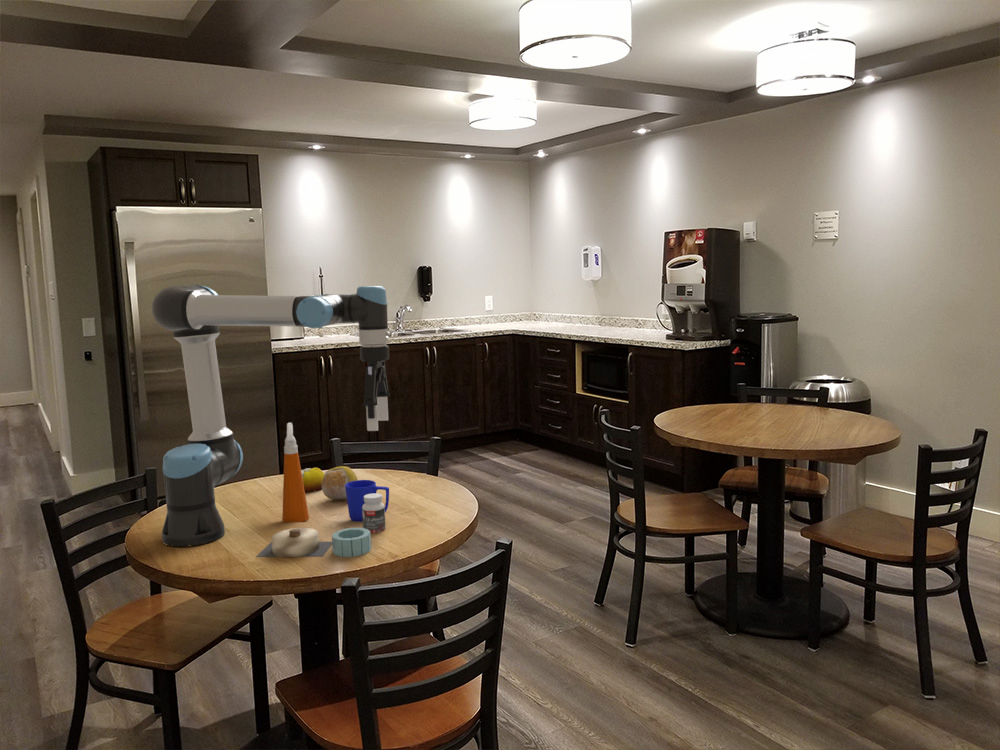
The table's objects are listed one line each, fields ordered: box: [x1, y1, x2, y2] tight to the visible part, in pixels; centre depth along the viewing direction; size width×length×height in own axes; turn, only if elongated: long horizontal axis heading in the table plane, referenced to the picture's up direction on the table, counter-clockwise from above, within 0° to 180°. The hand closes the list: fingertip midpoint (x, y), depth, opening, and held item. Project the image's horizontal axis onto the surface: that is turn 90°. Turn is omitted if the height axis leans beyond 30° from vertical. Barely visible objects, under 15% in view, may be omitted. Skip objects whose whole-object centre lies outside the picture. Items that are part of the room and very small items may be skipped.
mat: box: [255, 541, 332, 558], centre depth 189 cm, size 16×10×1 cm, turn 86°
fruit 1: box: [301, 467, 325, 494], centre depth 246 cm, size 11×10×8 cm
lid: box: [270, 527, 320, 558], centre depth 188 cm, size 11×11×5 cm
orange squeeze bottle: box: [281, 422, 310, 523], centre depth 214 cm, size 7×11×26 cm, turn 14°
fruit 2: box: [321, 465, 358, 501], centre depth 232 cm, size 10×11×10 cm
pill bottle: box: [362, 492, 387, 534], centre depth 201 cm, size 6×6×10 cm
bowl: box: [331, 527, 372, 558], centre depth 187 cm, size 9×9×5 cm
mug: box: [345, 479, 390, 523], centre depth 212 cm, size 8×12×10 cm
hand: (378, 425), depth 207 cm, fingers open, 13 cm apart
